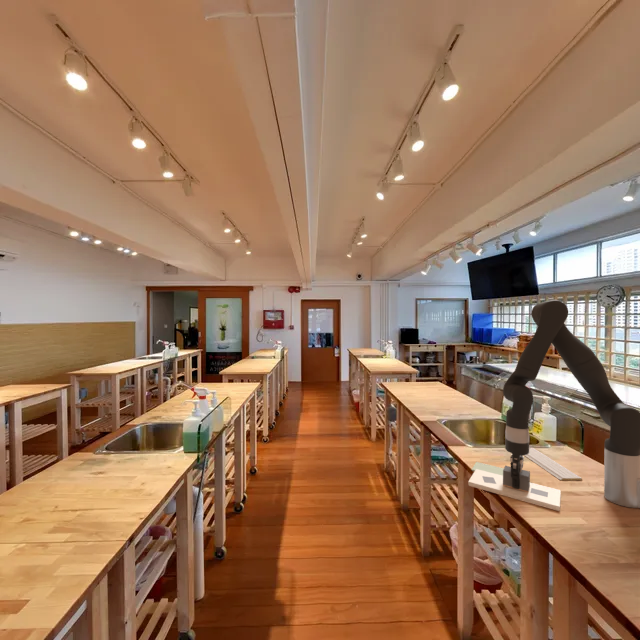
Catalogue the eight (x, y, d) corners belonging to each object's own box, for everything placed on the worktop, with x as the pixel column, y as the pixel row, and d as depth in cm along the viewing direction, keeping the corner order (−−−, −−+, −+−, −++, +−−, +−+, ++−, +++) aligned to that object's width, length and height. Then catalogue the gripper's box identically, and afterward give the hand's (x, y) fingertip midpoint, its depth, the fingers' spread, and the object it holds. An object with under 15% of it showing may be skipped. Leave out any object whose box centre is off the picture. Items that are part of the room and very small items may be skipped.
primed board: (560, 494, 119) (560, 490, 119) (559, 511, 109) (559, 506, 109) (476, 472, 136) (476, 468, 136) (468, 485, 126) (468, 481, 126)
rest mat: (507, 470, 138) (507, 469, 138) (504, 478, 131) (504, 477, 131) (476, 462, 145) (476, 461, 145) (471, 470, 138) (471, 469, 138)
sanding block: (529, 486, 121) (530, 471, 121) (528, 492, 117) (528, 476, 117) (504, 479, 126) (505, 465, 126) (502, 485, 122) (503, 470, 122)
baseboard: (556, 481, 130) (582, 482, 130) (556, 474, 130) (582, 474, 130) (512, 450, 160) (533, 450, 160) (512, 444, 160) (533, 444, 160)
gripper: (527, 447, 114) (526, 496, 114) (530, 435, 125) (530, 480, 125) (502, 442, 118) (502, 490, 118) (508, 431, 130) (507, 474, 130)
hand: (516, 484), depth 122 cm, fingers closed on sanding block, 5 cm apart
